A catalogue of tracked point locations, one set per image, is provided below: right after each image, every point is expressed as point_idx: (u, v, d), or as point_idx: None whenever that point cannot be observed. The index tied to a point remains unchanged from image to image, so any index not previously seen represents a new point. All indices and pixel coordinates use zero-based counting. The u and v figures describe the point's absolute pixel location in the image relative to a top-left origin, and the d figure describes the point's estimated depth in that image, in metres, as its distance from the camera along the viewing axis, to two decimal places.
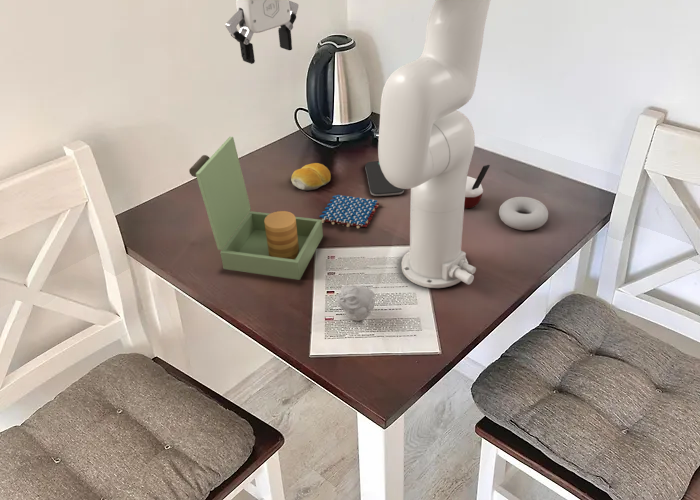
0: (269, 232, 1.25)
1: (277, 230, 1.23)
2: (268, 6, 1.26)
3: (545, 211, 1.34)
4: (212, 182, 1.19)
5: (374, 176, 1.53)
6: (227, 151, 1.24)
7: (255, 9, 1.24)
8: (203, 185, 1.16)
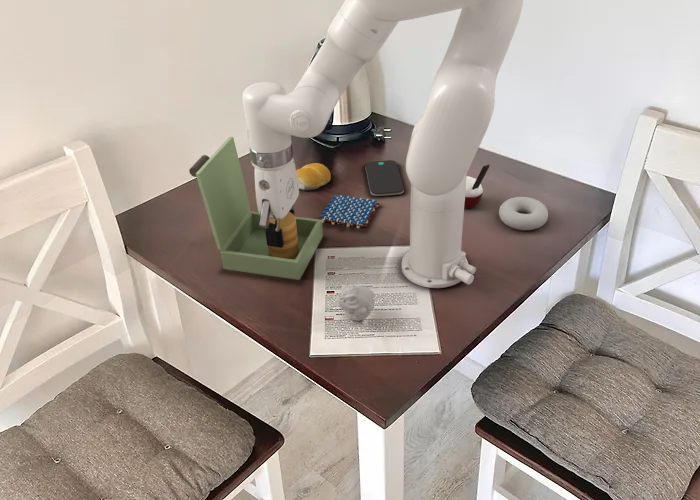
0: None
1: None
2: (288, 188, 1.20)
3: (545, 211, 1.34)
4: (212, 182, 1.19)
5: (374, 176, 1.53)
6: (227, 151, 1.24)
7: (282, 197, 1.18)
8: (203, 185, 1.16)
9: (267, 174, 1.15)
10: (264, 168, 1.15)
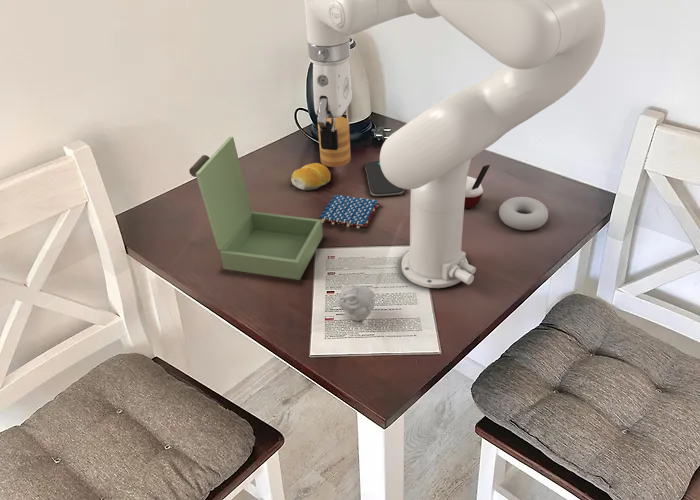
0: None
1: None
2: (344, 87, 1.21)
3: (545, 211, 1.34)
4: (212, 182, 1.19)
5: (374, 176, 1.53)
6: (227, 151, 1.24)
7: (340, 94, 1.18)
8: (203, 185, 1.16)
9: (326, 68, 1.15)
10: (323, 63, 1.16)
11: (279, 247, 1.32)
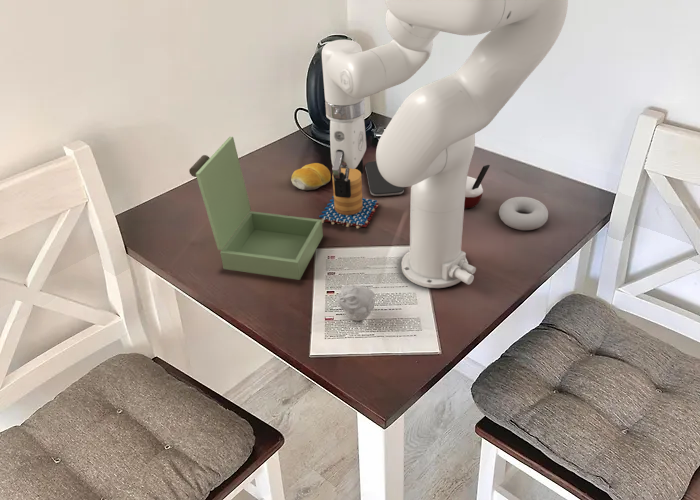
0: None
1: None
2: (359, 141, 1.30)
3: (545, 211, 1.34)
4: (212, 182, 1.19)
5: (374, 176, 1.53)
6: (227, 151, 1.24)
7: (355, 148, 1.27)
8: (203, 185, 1.16)
9: (342, 125, 1.24)
10: (339, 120, 1.24)
11: (279, 247, 1.32)
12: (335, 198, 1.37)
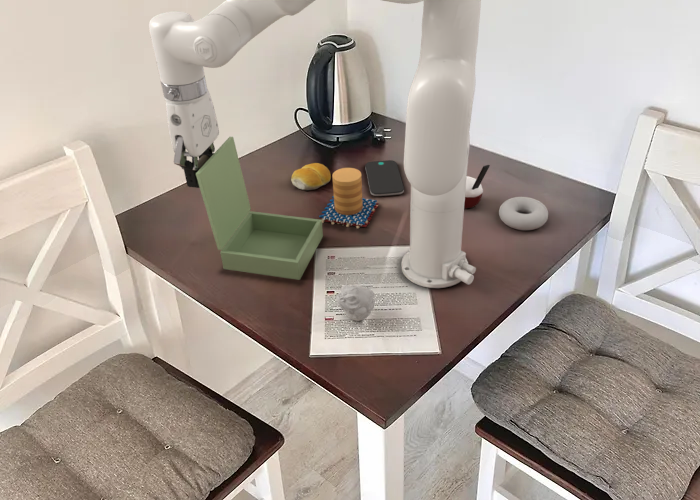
0: (337, 186, 1.35)
1: (345, 184, 1.34)
2: (204, 125, 1.17)
3: (545, 211, 1.34)
4: (212, 182, 1.19)
5: (374, 176, 1.53)
6: (227, 151, 1.24)
7: (196, 133, 1.15)
8: (203, 185, 1.16)
9: (178, 107, 1.11)
10: (175, 102, 1.12)
11: (279, 247, 1.32)
12: (335, 198, 1.37)
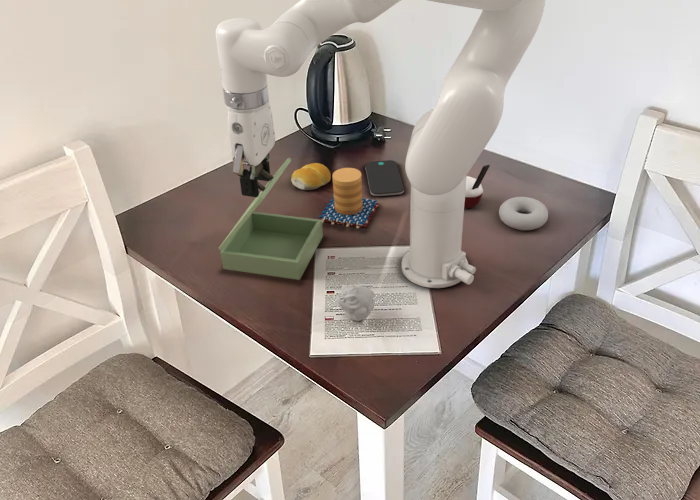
0: (337, 186, 1.35)
1: (345, 184, 1.34)
2: (263, 134, 1.15)
3: (545, 211, 1.34)
4: None
5: (374, 176, 1.53)
6: None
7: (256, 142, 1.12)
8: None
9: (240, 116, 1.09)
10: (237, 110, 1.10)
11: (279, 247, 1.32)
12: (335, 198, 1.37)
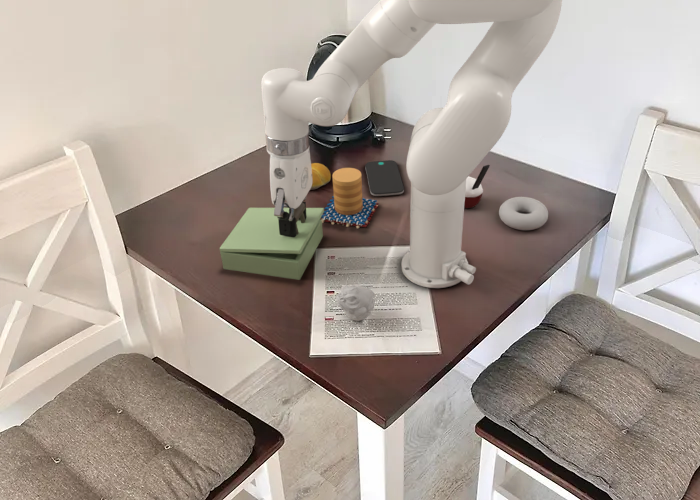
0: (337, 186, 1.35)
1: (345, 184, 1.34)
2: (303, 178, 1.18)
3: (545, 211, 1.34)
4: None
5: (374, 176, 1.53)
6: None
7: (297, 186, 1.15)
8: None
9: (283, 162, 1.12)
10: (280, 156, 1.13)
11: None
12: (335, 198, 1.37)
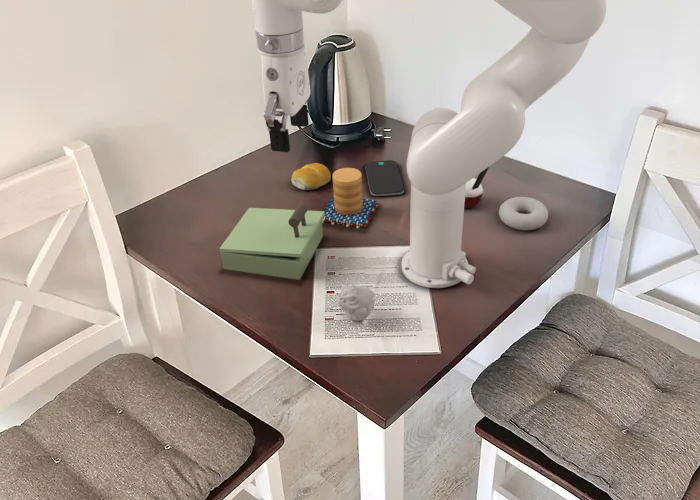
0: (337, 186, 1.35)
1: (345, 184, 1.34)
2: (299, 82, 1.07)
3: (545, 211, 1.34)
4: None
5: (374, 176, 1.53)
6: None
7: (292, 89, 1.05)
8: None
9: (275, 60, 1.01)
10: (272, 54, 1.02)
11: None
12: (335, 198, 1.37)
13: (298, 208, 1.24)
